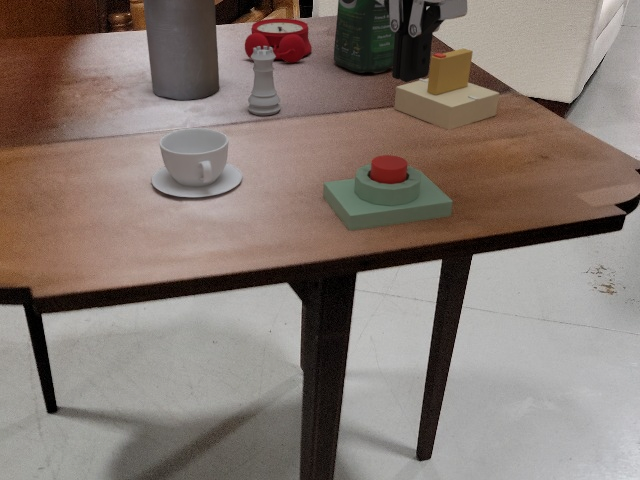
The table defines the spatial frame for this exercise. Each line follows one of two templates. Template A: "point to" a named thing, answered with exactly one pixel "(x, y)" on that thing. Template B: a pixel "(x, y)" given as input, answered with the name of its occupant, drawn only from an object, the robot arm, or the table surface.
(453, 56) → the handle
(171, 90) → the pillar candle
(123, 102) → the table surface
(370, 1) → the coffee jar
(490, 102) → the plate
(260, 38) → the alarm clock
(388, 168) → the button
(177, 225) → the table surface
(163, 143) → the teacup
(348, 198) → the button block
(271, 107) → the rook chess piece
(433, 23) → the robot arm
